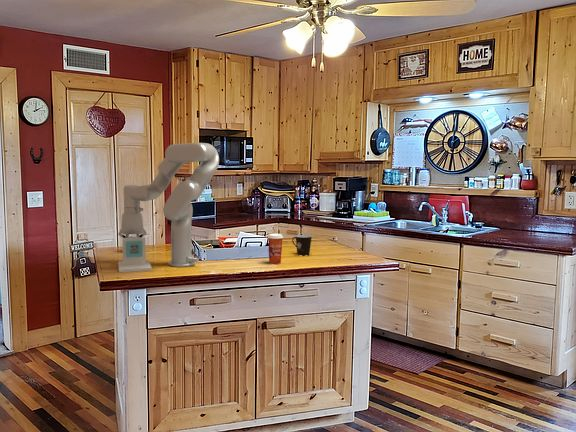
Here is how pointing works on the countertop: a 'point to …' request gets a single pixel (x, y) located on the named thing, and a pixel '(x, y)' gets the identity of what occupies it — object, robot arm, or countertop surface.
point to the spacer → (134, 243)
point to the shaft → (133, 246)
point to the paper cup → (275, 248)
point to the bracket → (134, 258)
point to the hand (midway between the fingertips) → (132, 247)
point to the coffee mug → (303, 244)
